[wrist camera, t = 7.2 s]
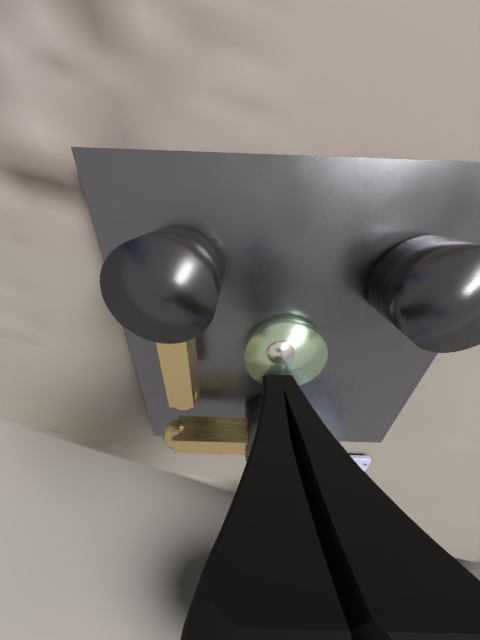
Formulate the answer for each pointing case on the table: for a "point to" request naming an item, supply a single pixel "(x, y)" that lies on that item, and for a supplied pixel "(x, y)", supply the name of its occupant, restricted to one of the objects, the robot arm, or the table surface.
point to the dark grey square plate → (287, 269)
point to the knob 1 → (166, 300)
